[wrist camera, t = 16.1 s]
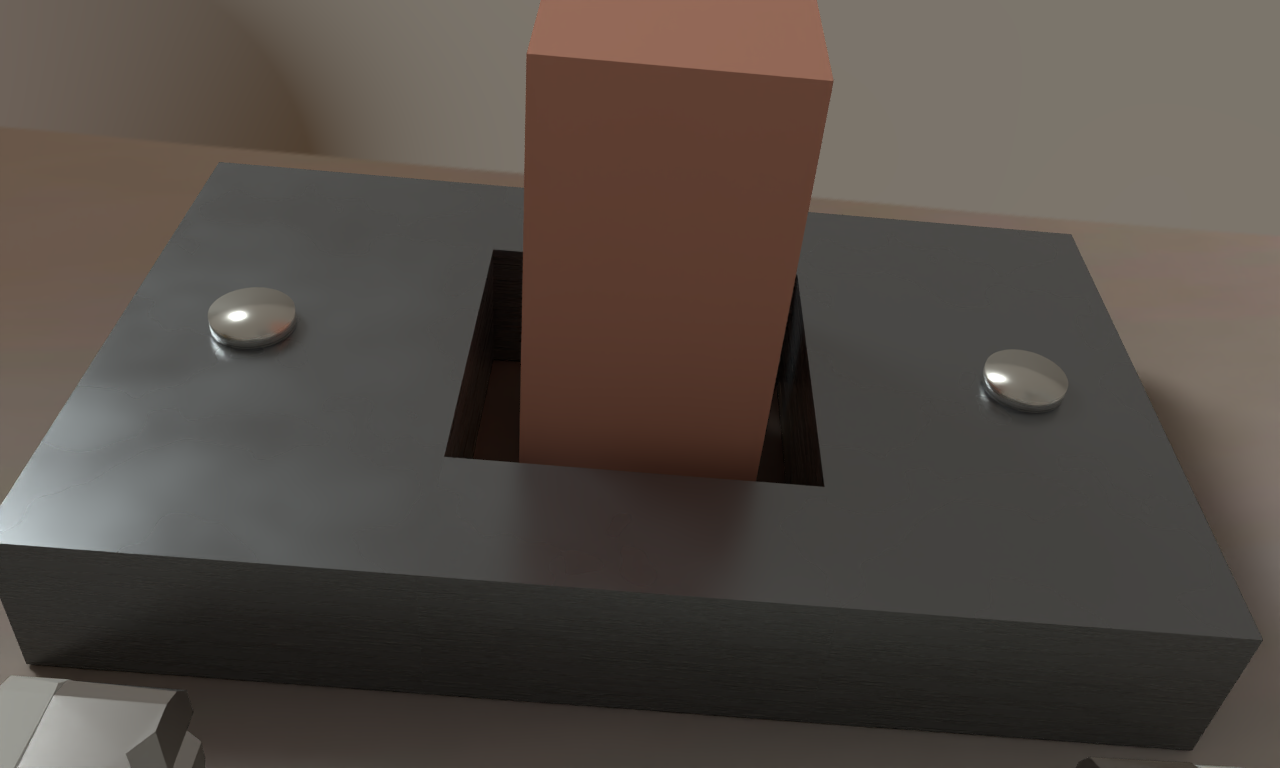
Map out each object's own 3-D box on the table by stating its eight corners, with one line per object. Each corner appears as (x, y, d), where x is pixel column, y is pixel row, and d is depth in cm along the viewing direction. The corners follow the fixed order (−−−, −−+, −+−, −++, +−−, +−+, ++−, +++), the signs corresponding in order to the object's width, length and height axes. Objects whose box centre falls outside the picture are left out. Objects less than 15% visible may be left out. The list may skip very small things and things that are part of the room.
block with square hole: (1034, 335, 30) (1075, 223, 28) (1191, 750, 20) (1271, 628, 18) (237, 270, 29) (217, 150, 27) (26, 663, 20) (-29, 528, 18)
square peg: (735, 411, 27) (810, -30, 20) (741, 556, 23) (833, 80, 17) (540, 395, 27) (554, -53, 20) (517, 538, 23) (526, 53, 17)
